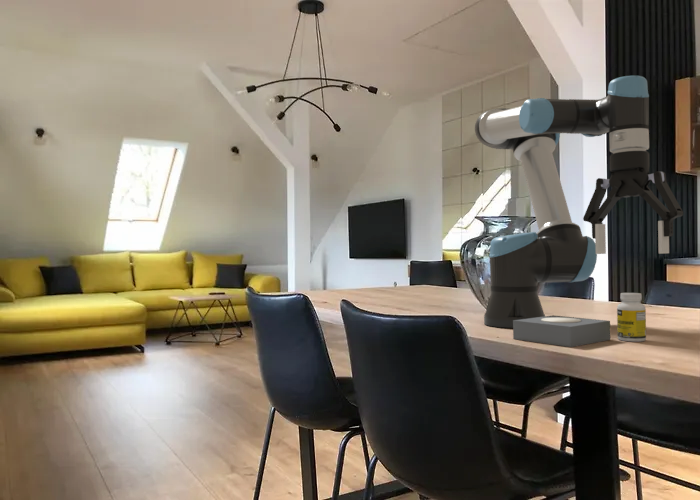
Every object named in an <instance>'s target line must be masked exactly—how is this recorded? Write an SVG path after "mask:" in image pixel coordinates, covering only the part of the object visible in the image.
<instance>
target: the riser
mask: <svg viewBox="0 0 700 500" xmlns="http://www.w3.org/2000/svg"><path fill="white" fill-rule="evenodd" d="M512 331H513V333H512V337H513V338H512V339H513V340H519V341H524V342H533V343H539V344H540V343H541V344H545V345H553V346H559V347H566V348H567V347H568V348H572V347H573V348H574V347H579V346H585V345H588V344H589V345H590V344H594V343H595V344H596V343H599V342H606V341H611V320H607V319H606V320H605V319H596V318H594V319H593V318H586V317H585V318H584V317H574V316H573V317H572V316H566V315H565V316H563V315H562V316H561V315H545V316H544V317H536V318H528V319H521V320H513V328H512Z"/></svg>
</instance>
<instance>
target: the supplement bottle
mask: <svg viewBox="0 0 700 500" xmlns="http://www.w3.org/2000/svg"><path fill="white" fill-rule="evenodd" d="M642 298H643V296H642V293H640V292H621V293H620V301H621V303H619V304H618V305H617V306H616V307H617V308H616V313H617V317H616V322H617V323H616V327H617V329H616V330H617V339H618V340H619V341H623V342H632V343H636V342H638V343H640V342H645V341H646V339H647V320H646V319H647V318H646V317H647V315H646V314H647V313H646V312H647V311H646V310H647V309H646V306H645V304H643V303H641V301H642Z"/></svg>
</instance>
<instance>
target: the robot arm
mask: <svg viewBox="0 0 700 500" xmlns="http://www.w3.org/2000/svg"><path fill="white" fill-rule="evenodd" d="M607 89H608V90H607V96H604V97H602V98H599V99H585V98H584V99H576V98H574V99H572V98H571V99H570V98H569V99H567V98H566V99H564V98H563V99H560V98H545V97H538V98H528V99H526V100H525V101H524V102H523V104H522V105H520V106H516V107H511V108H507V107H506V108H504V107H502V108H501V107H500V108H493V109H488V110H485V111H484V112H482V113H481V114H480V115H479V116H478V118H477V119H476V121H475V123H474V132H475V135H476V139H478V141H479V142H480V143H481V144H482V145H484V146H485V147H488V148H491V149H496V150H512V151H513V157H514V158H515V159H516V160H517V161H518V162H521V165H522V169H523V173H524V177H525V181H526V184H527V190H528V194H529V196H530V200H531V204H532V207H533V208H532V209H533V211H534V216H535V221H536V223H537V227H538V232H537V231H530V232H522V233H514V234H507V235H500V236H495V237H494V238H492V240H491V241H490V243H489V245H490V247H489V248H490V249H489V254H488V256H489V268H490V269H489V272H490V277H489V279H490V296H489V299H488V302H487V306H486V311H485V313H484V315H483V323H484V325H486V326H488V327H497V328H508V329H513V320H521V319H528V318H536V317H544V316H546V314H544V309H543V305H542V303H541V300H540V297H539V294H538V293H539V291H538V289H539V288H538V284H539V283H569V284H570V283H574V282H575V283H576V282H583V281H585V280H588V279H589V278H590V277H591V275H592V274H593V272H594V270H595V268H596V264H597V261H598V260H597V258H598V255H605V254H607V253H606V252H607V247H606V244H607V242H606V239H607V238H606V224H605V223H604V222H603V221H604V220H605V219H606V218H607V216H608V215H609V214H610V212H611V211H612V209H613V208H614V206H615V205H616V204H617V203H618V201H620V200H621V199H622V198H631V197H641V198H643V199H644V201H645V202H646V203H647V204H648V205H649V206H650V207H651V208H652V210H653V211H654V212H656V214H658V216H659V217H660V218H661V219H660V220H658V221H657V231H658V232H657V233H658V234H657V235H658V237H657V240H658V243H657V244H658V246H657V247H658V254H659V255H660V254H663V255H664V254H670V237H673V236H674V220H675V219H677V218H680V217H683V216H684V211H683V209H682V208H681V206H680V204H679V202H678V201H677V199H676V196H675V195H674V193H673V192H672V190H671V187H670V186H669V184H668V182H667V176H666V173H665V172H664V171H654V172H653V173H650V152H649V151H647V150H649V149H650V134H649V133H650V130H649V125H650V124H649V123H650V122H649V121H650V120H649V119H650V117H649V113H650V112H649V106H650V105H649V97H650V94H649V91H648V90H649V88H648V80H647V79H646V78H645V77H644V76H642V75H625V76H620V77H616V78H614V79H612V80H611V81H610V82H609V83H608V87H607ZM607 133H609V134H608V135H609V137H608V138H609V140H608V141H609V152H610V153H611V154H610V155H609V171H610V177H609V178H600V177H599V178H596V181H595V189H594V192H593V194H592V196H591V198H590V201H589V203H588V206H587V208H586V210H585V212H584V215H583V217H582V220H583V221H584V222H588V223H589V224H590V225H591V237H590V236H587V235H585V236H584V235H583V233H582V229H581V227H580V226H579V225H578V224H576V222H573V220H572V217H571V213H570V211H569V210H570V209H569V206H568V204H567V200H566V196H565V192H564V189H563V186H562V183H561V179H560V176H559V175H560V174H559V172H558V169H557V166H556V165H557V164H556V161H555V158H554V154H553V152H554V151H555V150H556V146H557V145H558V143H559V142H560V141H559V140H560V137H561V136H560V135H561V134H575V135H576V134H580V135H583V136H585V137H586V138H594V137H600V136H603V135H606V134H607ZM651 181H652V183H653V184H654V186H655V187H656V189H657V191H658V193H659V194H660V196H661V198H662V200H663V202H664V204H663V202H662V201H660V199H659V198H658V197H657V196H656V195H655V194H654V192H653V191H652V189H651V188H649V185H650V183H651ZM609 187H611V189H610V191H609V192H608V194H607V197H606V198H605V200H604V197H605V195H606V193H607V190H608V188H609ZM603 200H604V201H603ZM594 239H595V240H594Z"/></svg>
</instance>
